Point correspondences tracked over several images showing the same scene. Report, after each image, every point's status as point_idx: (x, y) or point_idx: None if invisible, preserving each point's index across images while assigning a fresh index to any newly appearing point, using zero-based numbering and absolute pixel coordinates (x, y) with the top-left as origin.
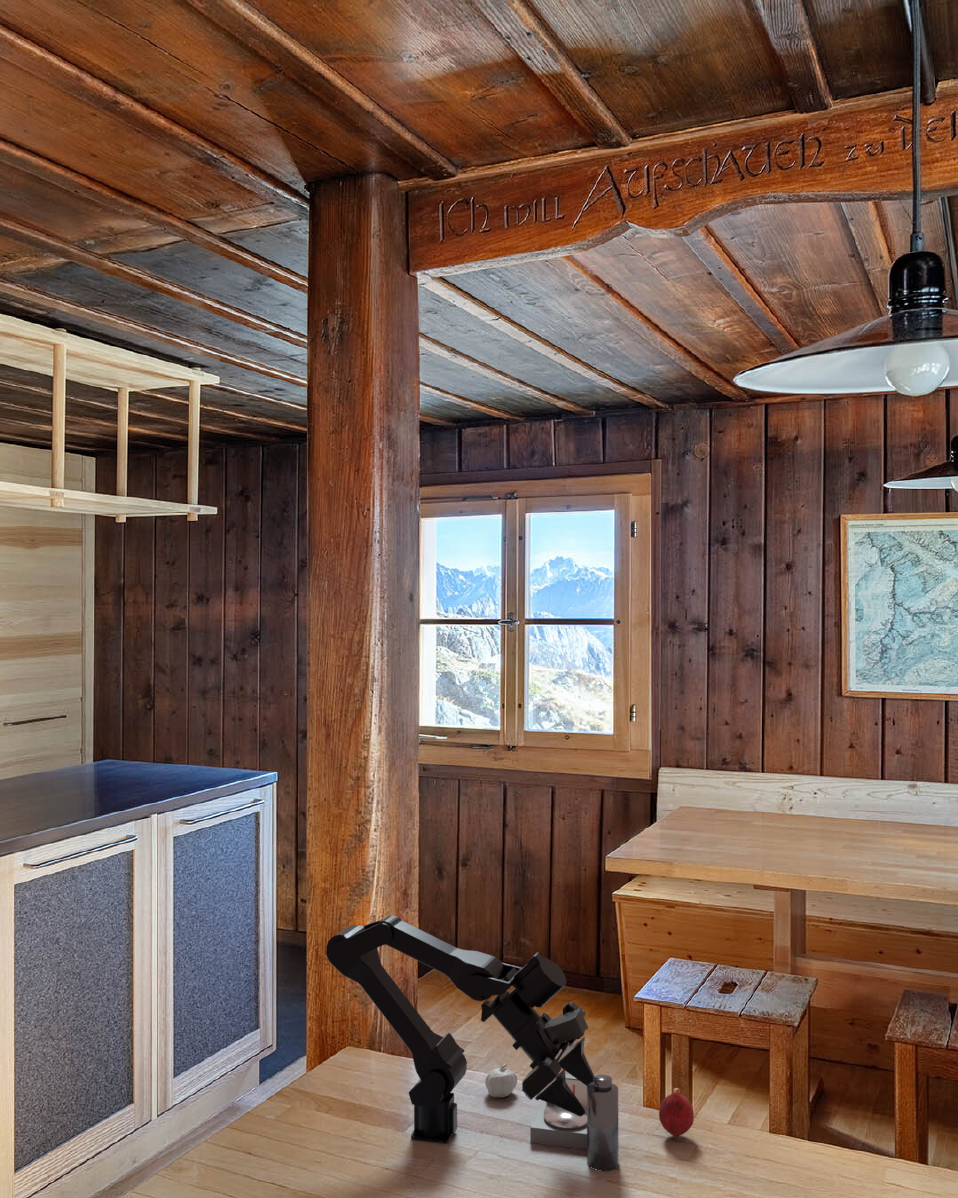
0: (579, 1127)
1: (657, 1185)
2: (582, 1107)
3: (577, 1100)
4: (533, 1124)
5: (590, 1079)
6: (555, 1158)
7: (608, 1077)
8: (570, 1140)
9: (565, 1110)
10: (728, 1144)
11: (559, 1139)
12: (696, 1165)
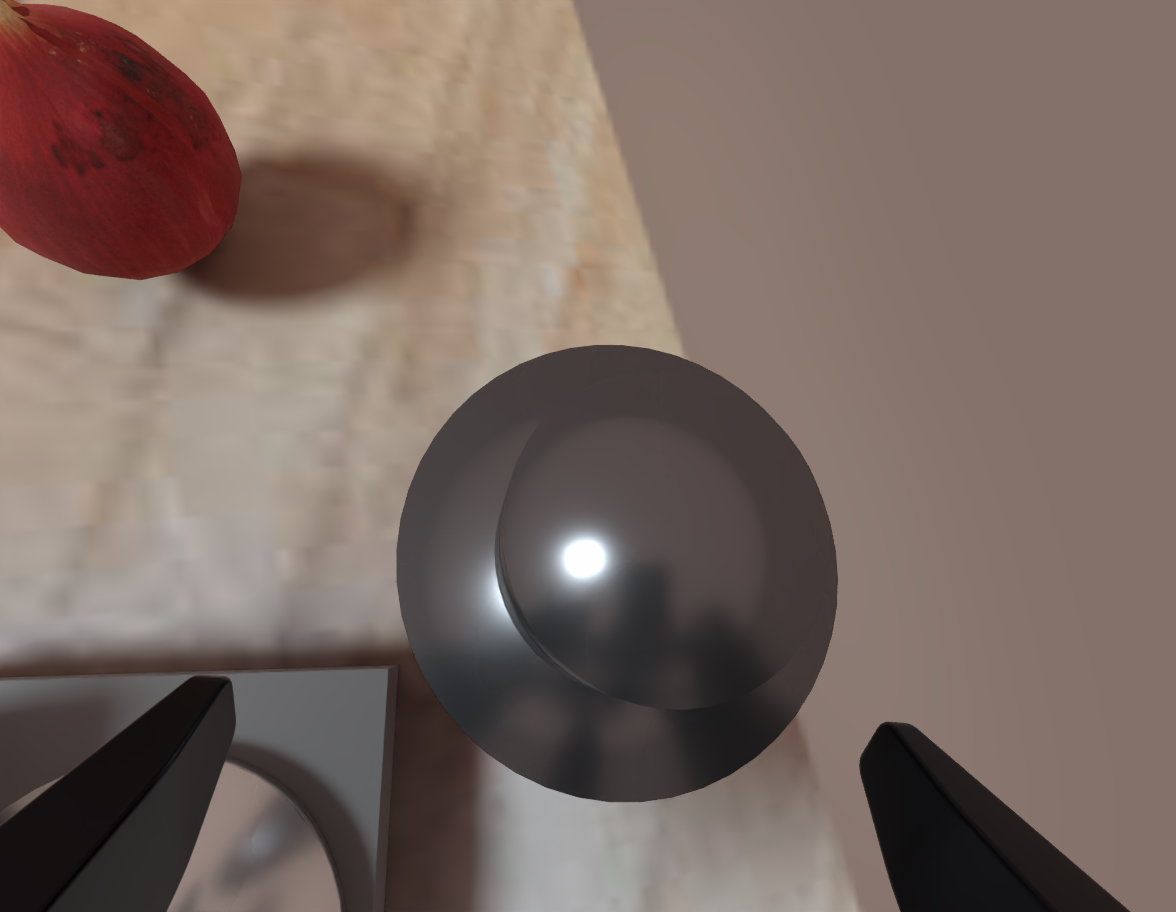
0: (311, 817)
1: (655, 337)
2: (931, 762)
3: (1026, 853)
4: None
5: (156, 822)
6: (538, 909)
7: (599, 428)
8: (382, 856)
9: None
10: (225, 35)
11: None
12: (448, 178)
